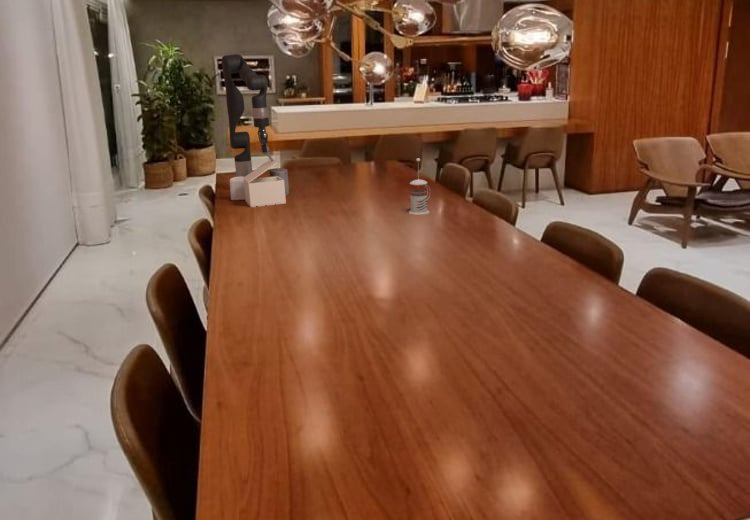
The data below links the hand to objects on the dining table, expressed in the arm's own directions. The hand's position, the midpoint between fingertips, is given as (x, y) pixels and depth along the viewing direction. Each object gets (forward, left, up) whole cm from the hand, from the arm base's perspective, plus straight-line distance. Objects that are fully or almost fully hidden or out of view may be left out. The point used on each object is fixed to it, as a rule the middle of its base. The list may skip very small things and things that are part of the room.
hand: (264, 151), depth 322 cm
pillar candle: (-18, +10, -26) cm, 34 cm away
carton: (0, -2, -26) cm, 26 cm away
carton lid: (0, -2, -9) cm, 10 cm away
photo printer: (-16, -12, -26) cm, 33 cm away
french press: (+60, +58, -26) cm, 88 cm away
